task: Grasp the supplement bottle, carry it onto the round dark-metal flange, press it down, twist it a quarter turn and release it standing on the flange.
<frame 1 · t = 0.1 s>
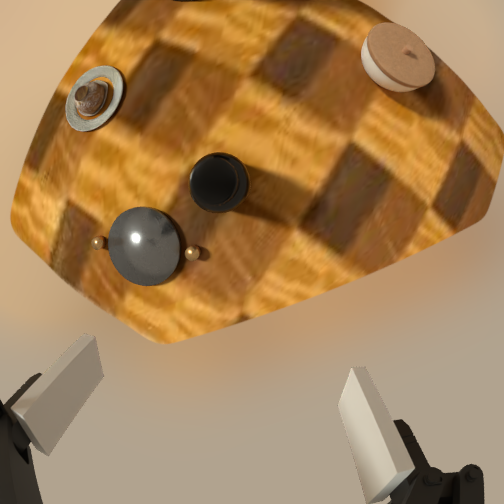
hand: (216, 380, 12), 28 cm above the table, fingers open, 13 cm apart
lidded jar: (382, 70, 32), on the table
supplement bottle: (227, 183, 37), on the table
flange: (144, 246, 39), on the table
grey ring with stone: (96, 98, 34), on the table
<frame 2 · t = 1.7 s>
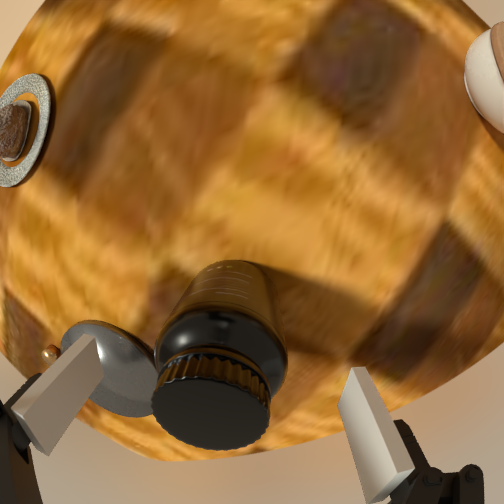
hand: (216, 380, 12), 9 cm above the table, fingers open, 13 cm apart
lidded jar: (483, 93, 15), on the table
supplement bottle: (233, 298, 21), on the table
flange: (111, 371, 23), on the table
grey ring with stone: (20, 129, 18), on the table
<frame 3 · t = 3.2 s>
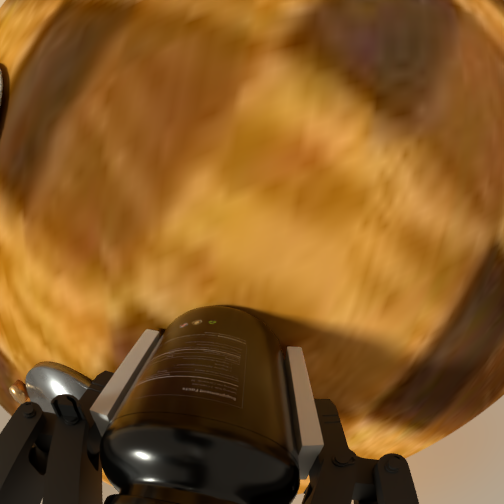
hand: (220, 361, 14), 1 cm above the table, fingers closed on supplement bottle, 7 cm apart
supplement bottle: (222, 353, 15), on the table, touching gripper
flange: (82, 417, 17), on the table
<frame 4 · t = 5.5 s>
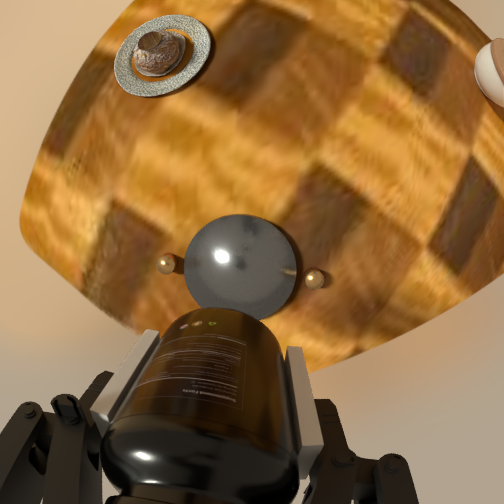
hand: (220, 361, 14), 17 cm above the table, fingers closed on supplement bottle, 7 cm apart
lidded jar: (486, 82, 22), on the table
supplement bottle: (222, 354, 15), point 16 cm above the table, touching gripper
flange: (240, 269, 30), on the table
grey ring with stone: (162, 55, 25), on the table
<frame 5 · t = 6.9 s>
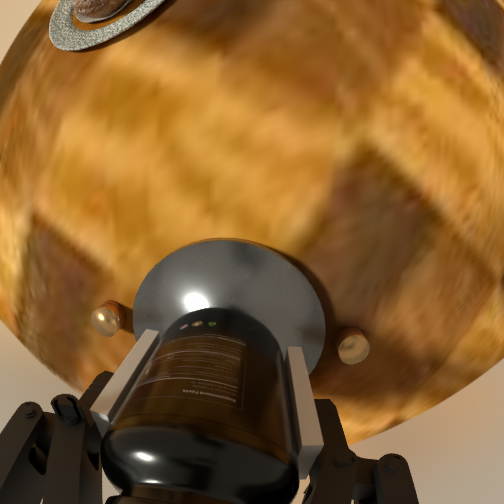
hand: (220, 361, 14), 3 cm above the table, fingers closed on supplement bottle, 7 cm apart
supplement bottle: (222, 354, 15), point 2 cm above the table, touching gripper
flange: (227, 331, 17), on the table
when the fingers open (2 cm above the table, at t = 7.8 s): supplement bottle stays where it is, resting on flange.
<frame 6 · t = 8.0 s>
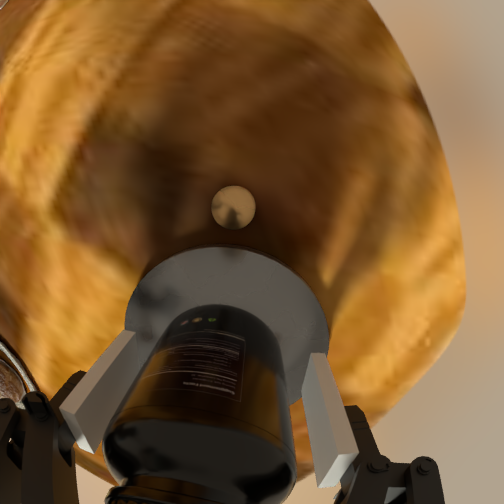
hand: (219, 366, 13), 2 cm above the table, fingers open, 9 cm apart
supplement bottle: (221, 351, 15), point 1 cm above the table, touching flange
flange: (224, 343, 16), on the table
grey ring with stone: (11, 372, 19), on the table
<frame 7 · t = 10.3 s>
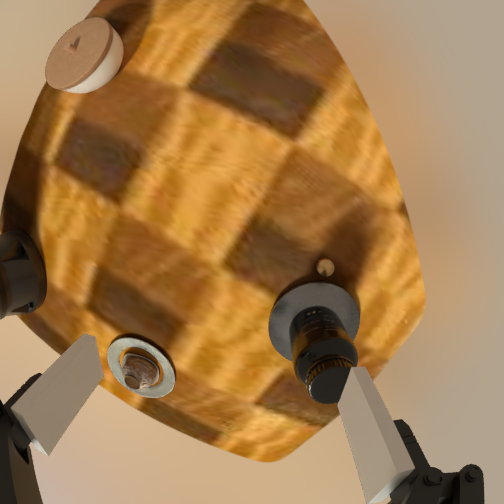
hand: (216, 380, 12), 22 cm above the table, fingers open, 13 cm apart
lidded jar: (104, 68, 28), on the table
supplement bottle: (314, 326, 34), point 1 cm above the table, touching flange
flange: (314, 323, 35), on the table
grey ring with stone: (142, 365, 39), on the table
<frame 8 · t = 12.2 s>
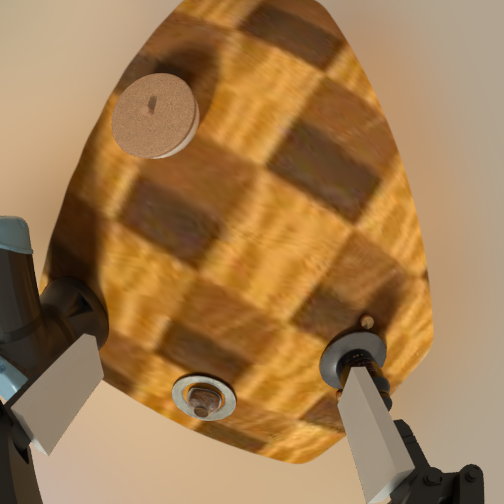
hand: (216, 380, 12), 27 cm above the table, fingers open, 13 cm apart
lidded jar: (170, 126, 34), on the table
supplement bottle: (353, 362, 41), point 1 cm above the table, touching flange
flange: (352, 359, 42), on the table
grey ring with stone: (204, 395, 45), on the table
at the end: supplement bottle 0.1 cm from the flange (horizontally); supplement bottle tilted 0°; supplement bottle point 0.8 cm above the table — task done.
